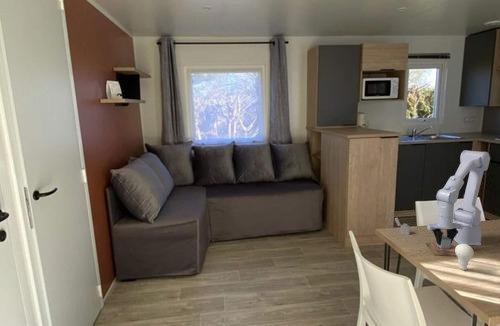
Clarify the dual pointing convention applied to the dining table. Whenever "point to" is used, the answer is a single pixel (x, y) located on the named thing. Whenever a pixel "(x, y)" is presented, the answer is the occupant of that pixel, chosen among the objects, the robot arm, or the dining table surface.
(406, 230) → the lighter
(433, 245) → the base plate
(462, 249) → the lightbulb
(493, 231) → the dining table surface
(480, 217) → the robot arm
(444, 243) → the block
